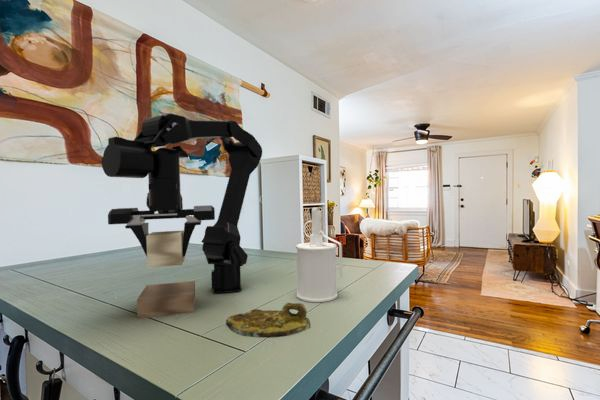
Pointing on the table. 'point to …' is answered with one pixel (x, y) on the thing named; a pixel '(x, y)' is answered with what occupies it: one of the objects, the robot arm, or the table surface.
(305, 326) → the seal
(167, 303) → the walnut block
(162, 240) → the maple cube
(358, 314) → the table surface
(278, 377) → the table surface
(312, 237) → the white cylinder with spout
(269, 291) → the table surface
